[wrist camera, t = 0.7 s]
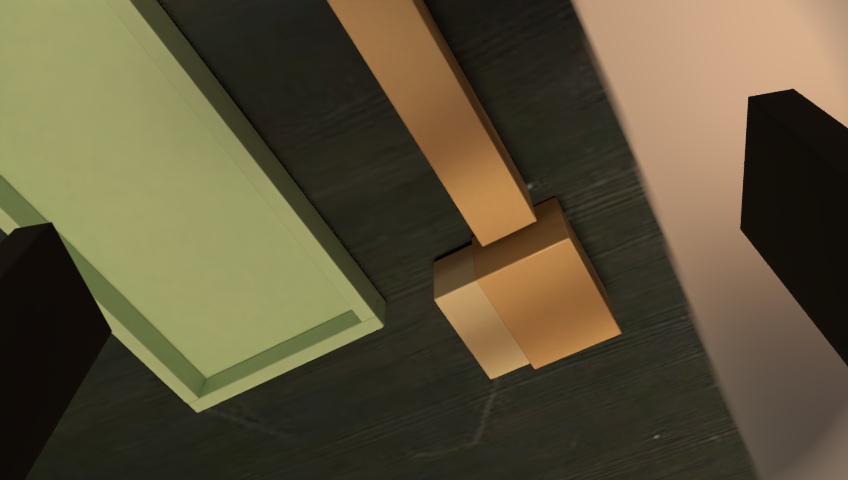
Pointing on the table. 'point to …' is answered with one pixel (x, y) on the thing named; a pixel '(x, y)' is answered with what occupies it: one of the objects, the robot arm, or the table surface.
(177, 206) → the tray
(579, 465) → the table surface
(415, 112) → the wooden mallet
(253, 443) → the table surface
